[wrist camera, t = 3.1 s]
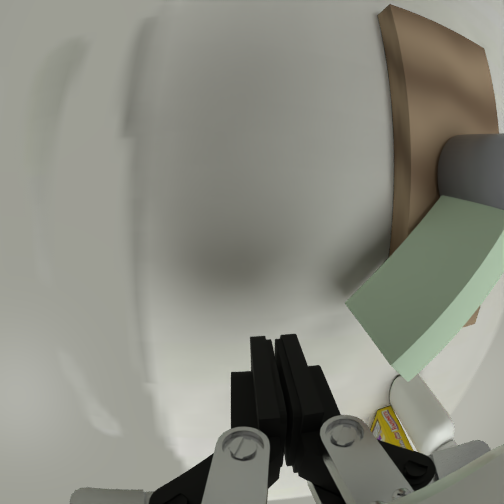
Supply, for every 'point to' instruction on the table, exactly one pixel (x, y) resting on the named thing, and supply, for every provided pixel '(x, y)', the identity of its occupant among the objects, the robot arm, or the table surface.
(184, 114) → the table surface
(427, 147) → the post base
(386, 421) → the candy box
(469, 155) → the grey and green piece
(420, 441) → the eye dropper bottle
